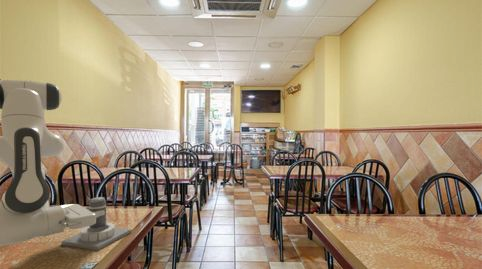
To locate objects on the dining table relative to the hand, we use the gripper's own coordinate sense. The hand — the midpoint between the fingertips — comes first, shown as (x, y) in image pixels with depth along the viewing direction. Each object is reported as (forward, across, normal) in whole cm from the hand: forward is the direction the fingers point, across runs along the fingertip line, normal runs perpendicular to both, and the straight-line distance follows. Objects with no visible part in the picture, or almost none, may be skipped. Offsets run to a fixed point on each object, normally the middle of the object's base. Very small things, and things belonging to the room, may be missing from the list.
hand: (100, 210), depth 96 cm
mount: (-1, 0, +10) cm, 10 cm away
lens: (-1, 0, +6) cm, 6 cm away
